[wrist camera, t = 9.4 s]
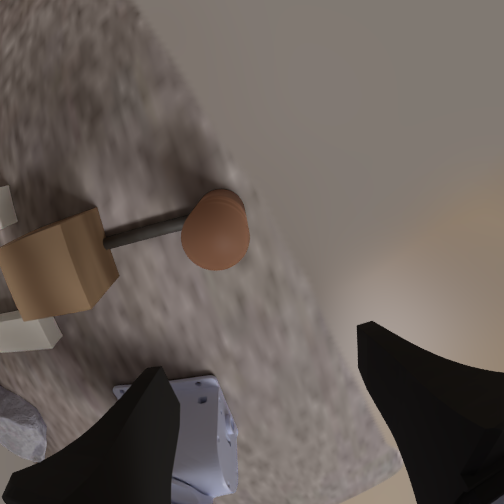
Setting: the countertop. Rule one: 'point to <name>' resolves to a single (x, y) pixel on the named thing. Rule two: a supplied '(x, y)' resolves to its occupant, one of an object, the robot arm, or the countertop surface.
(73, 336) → the countertop surface
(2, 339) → the frame
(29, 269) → the string block
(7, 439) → the stone block
